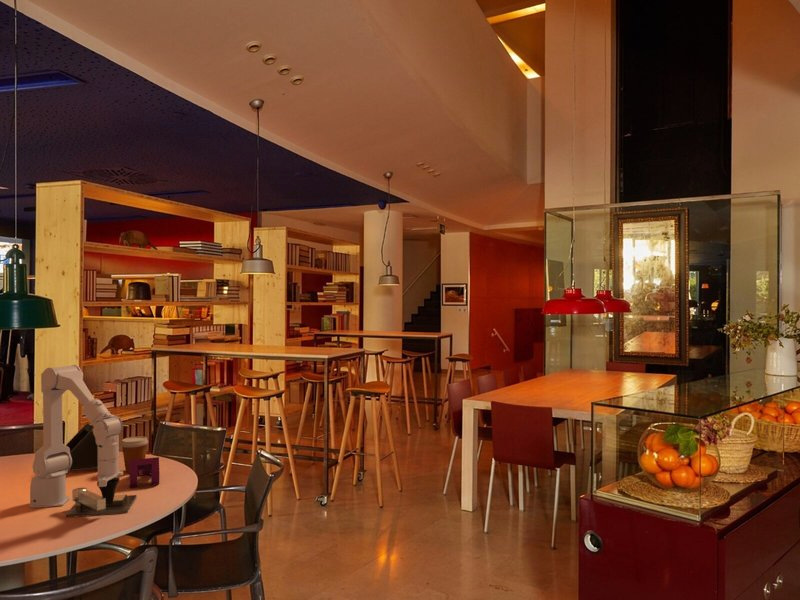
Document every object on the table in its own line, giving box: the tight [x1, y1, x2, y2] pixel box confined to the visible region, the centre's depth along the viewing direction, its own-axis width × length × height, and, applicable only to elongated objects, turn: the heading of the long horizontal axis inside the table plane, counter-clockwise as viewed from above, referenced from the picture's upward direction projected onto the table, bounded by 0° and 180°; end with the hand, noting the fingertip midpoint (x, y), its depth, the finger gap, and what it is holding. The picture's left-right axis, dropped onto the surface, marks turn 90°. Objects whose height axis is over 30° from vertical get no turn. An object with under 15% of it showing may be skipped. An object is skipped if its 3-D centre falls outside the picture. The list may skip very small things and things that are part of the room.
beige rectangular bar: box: [71, 487, 106, 510], centre depth 184 cm, size 16×4×3 cm, turn 51°
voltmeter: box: [65, 422, 98, 473], centre depth 235 cm, size 16×16×20 cm
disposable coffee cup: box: [120, 436, 149, 474], centre depth 230 cm, size 10×10×12 cm
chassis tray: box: [65, 494, 137, 518], centre depth 189 cm, size 17×14×3 cm
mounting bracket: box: [128, 456, 160, 488], centre depth 217 cm, size 10×8×18 cm
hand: (108, 503), depth 182 cm, fingers closed
